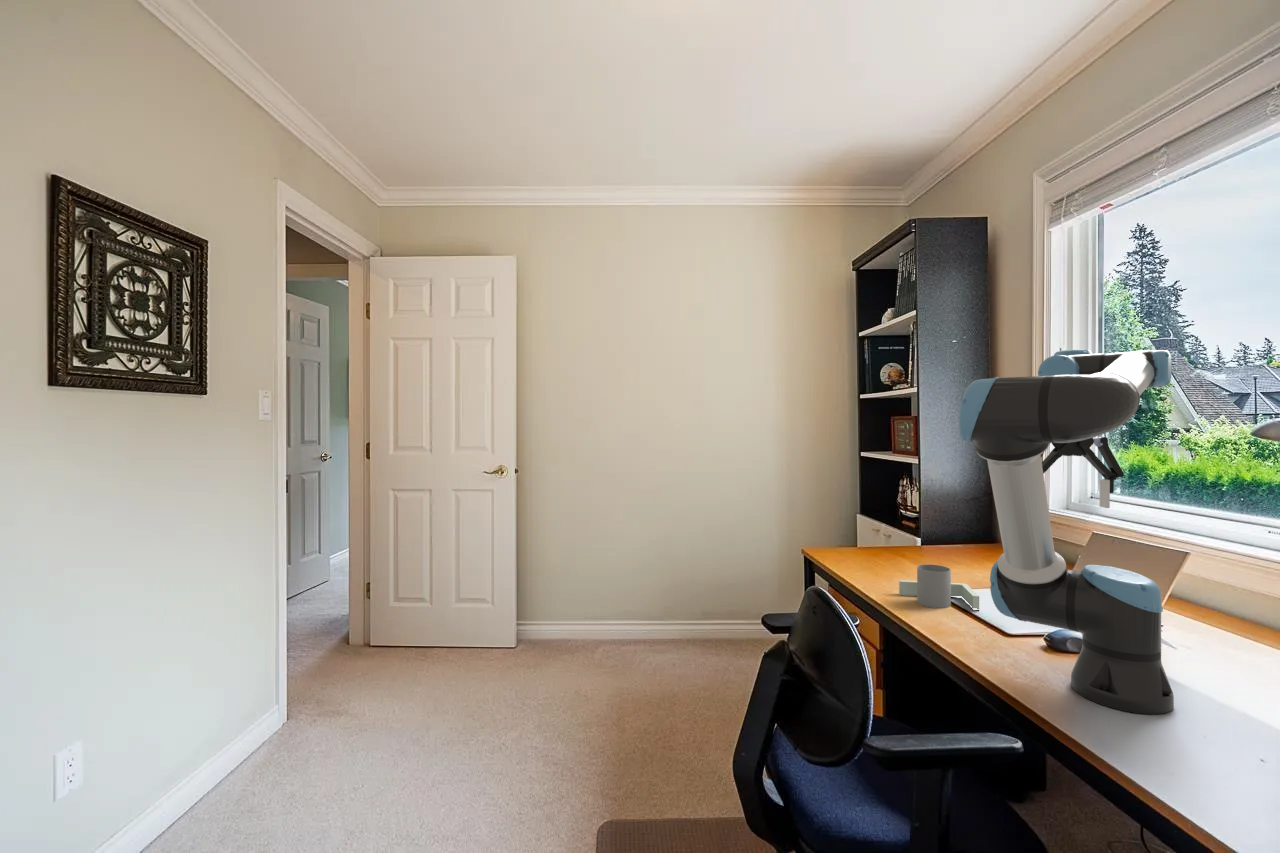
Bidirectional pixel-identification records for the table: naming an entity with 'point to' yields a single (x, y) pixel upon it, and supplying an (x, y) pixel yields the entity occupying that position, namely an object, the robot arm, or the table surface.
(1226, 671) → the table surface
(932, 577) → the cup
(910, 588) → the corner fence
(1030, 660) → the table surface
